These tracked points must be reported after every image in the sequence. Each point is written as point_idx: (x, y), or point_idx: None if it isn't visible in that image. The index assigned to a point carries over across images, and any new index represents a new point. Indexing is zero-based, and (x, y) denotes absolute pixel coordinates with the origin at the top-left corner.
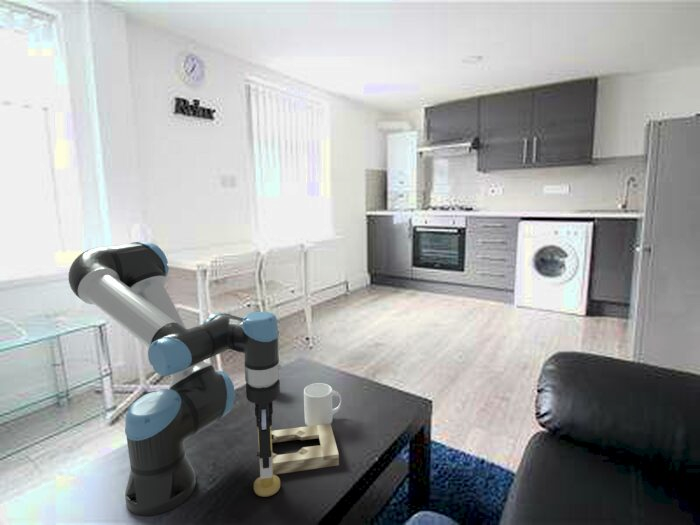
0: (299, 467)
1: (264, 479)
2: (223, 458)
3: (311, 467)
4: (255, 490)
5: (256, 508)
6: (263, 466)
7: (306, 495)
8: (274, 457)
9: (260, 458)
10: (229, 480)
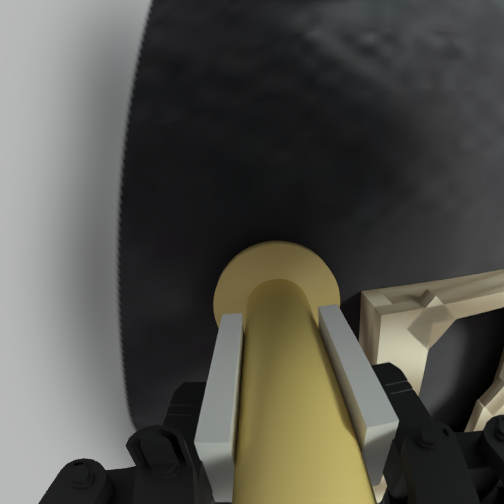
0: None
1: (245, 321)
2: (479, 88)
3: None
4: (239, 256)
5: (169, 259)
6: (175, 398)
7: None
8: (417, 338)
9: (76, 463)
10: (357, 114)
